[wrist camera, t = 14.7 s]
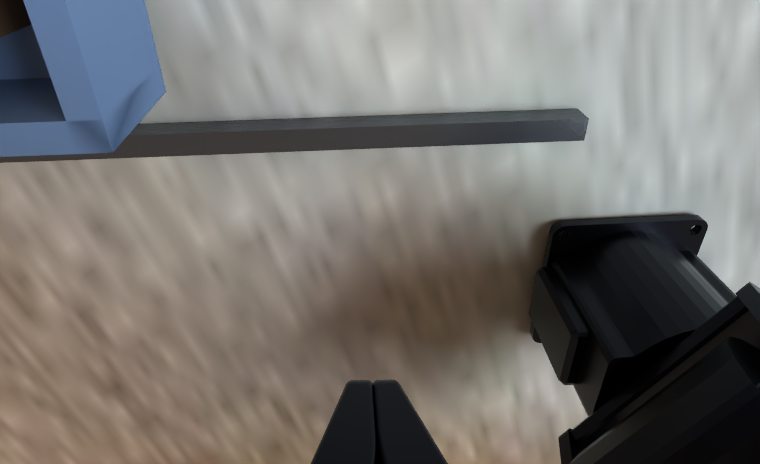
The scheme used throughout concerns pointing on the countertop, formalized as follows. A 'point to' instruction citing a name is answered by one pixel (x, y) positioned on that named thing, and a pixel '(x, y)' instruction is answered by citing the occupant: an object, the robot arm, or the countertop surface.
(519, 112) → the track
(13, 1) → the block
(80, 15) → the box
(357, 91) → the countertop surface
